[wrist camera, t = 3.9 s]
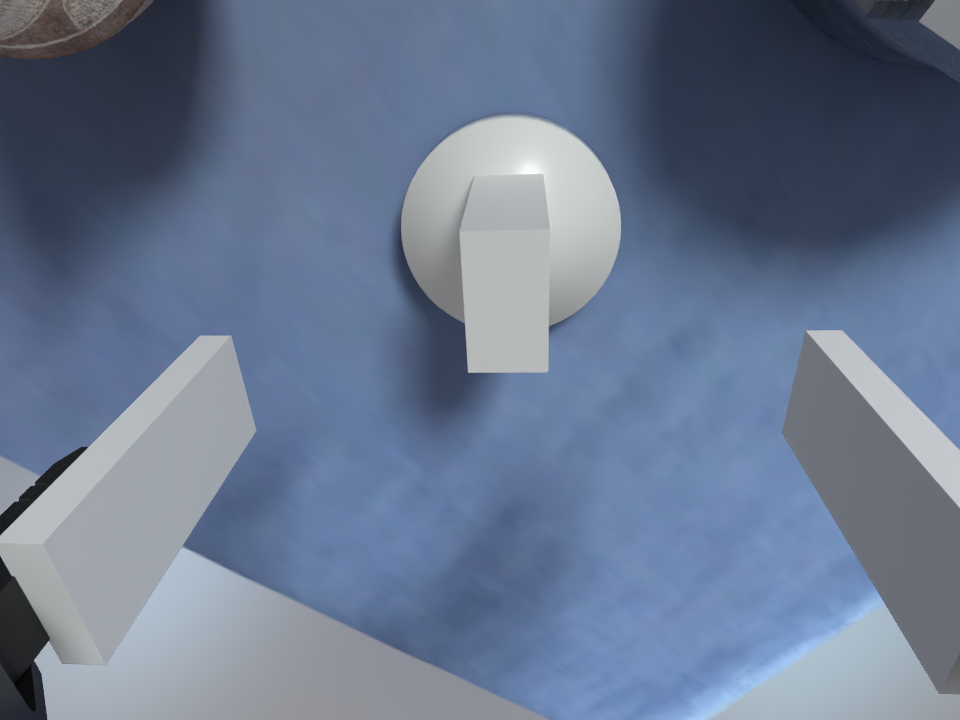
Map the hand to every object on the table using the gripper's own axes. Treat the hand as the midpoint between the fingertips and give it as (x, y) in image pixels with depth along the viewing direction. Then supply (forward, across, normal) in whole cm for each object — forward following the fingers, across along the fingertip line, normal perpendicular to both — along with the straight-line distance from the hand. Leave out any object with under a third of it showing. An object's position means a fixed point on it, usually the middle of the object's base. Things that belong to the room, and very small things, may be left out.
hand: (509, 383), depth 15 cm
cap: (+11, 0, 0) cm, 11 cm away
